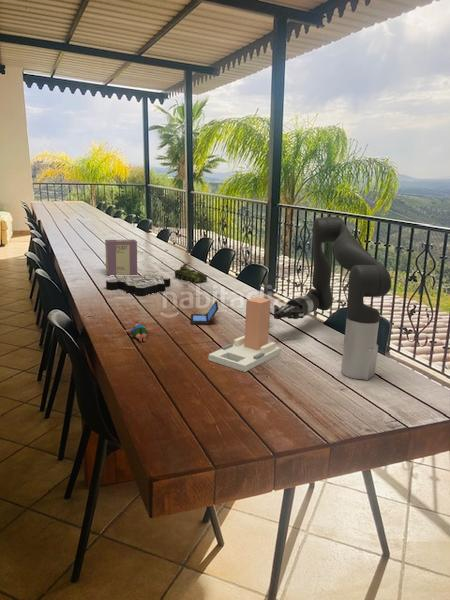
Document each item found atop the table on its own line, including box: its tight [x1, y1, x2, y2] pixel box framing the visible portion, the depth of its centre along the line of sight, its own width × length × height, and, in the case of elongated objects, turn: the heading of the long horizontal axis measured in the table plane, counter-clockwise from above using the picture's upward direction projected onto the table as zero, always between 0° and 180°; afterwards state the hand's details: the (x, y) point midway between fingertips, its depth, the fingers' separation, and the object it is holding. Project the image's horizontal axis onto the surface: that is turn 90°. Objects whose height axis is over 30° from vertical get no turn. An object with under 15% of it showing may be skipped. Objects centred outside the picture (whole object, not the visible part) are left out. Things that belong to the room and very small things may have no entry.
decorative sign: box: [105, 274, 171, 297], centre depth 240 cm, size 28×4×30 cm
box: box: [104, 239, 138, 277], centre depth 269 cm, size 17×9×20 cm, turn 111°
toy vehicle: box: [174, 262, 208, 283], centre depth 263 cm, size 9×20×10 cm, turn 47°
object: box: [190, 300, 219, 326], centre depth 187 cm, size 12×11×7 cm
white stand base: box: [208, 334, 282, 373], centre depth 150 cm, size 14×21×4 cm, turn 143°
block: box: [244, 296, 272, 350], centre depth 152 cm, size 6×6×16 cm
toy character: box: [120, 321, 156, 342], centre depth 166 cm, size 12×5×15 cm
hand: (276, 316), depth 161 cm, fingers closed
